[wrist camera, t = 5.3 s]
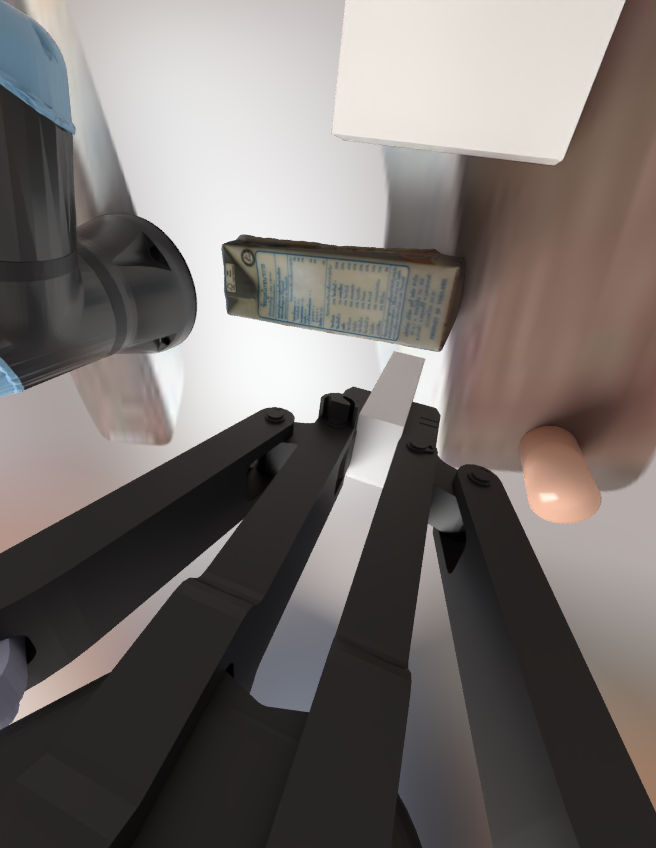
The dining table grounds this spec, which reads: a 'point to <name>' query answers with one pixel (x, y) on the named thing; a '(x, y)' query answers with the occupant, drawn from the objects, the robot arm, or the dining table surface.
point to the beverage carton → (345, 289)
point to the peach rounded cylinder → (557, 476)
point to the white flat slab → (470, 74)
